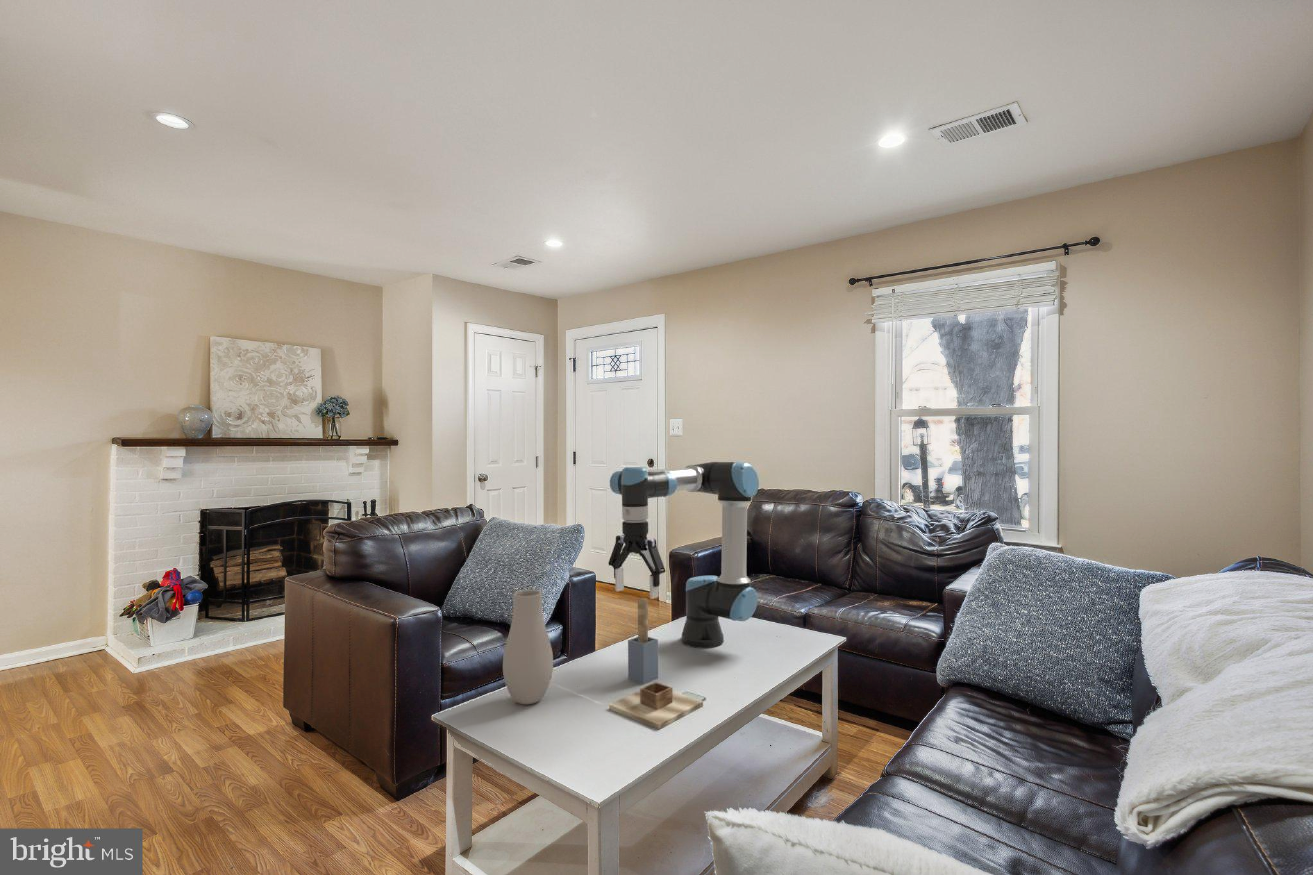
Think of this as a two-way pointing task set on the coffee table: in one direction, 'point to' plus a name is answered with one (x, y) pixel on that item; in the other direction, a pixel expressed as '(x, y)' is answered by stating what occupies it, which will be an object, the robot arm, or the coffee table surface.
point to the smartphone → (694, 696)
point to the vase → (527, 650)
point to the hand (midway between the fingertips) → (636, 594)
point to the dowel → (643, 620)
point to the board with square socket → (656, 705)
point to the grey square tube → (643, 660)
